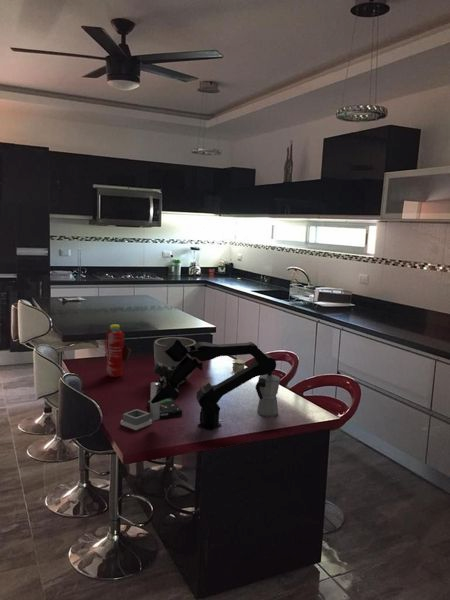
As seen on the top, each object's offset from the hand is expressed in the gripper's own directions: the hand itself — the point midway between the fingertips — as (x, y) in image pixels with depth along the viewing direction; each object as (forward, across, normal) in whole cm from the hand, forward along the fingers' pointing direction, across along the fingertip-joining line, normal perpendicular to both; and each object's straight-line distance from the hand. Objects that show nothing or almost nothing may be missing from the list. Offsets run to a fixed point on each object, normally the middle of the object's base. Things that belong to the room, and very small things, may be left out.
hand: (151, 400), depth 182 cm
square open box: (+11, -5, +4) cm, 13 cm away
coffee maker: (-25, -9, +41) cm, 49 cm away
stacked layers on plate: (-28, -67, +44) cm, 84 cm away
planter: (-4, -54, +19) cm, 57 cm away
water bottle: (+15, -66, +1) cm, 68 cm away
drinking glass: (+4, 0, +6) cm, 7 cm away
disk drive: (+3, -18, +13) cm, 22 cm away
